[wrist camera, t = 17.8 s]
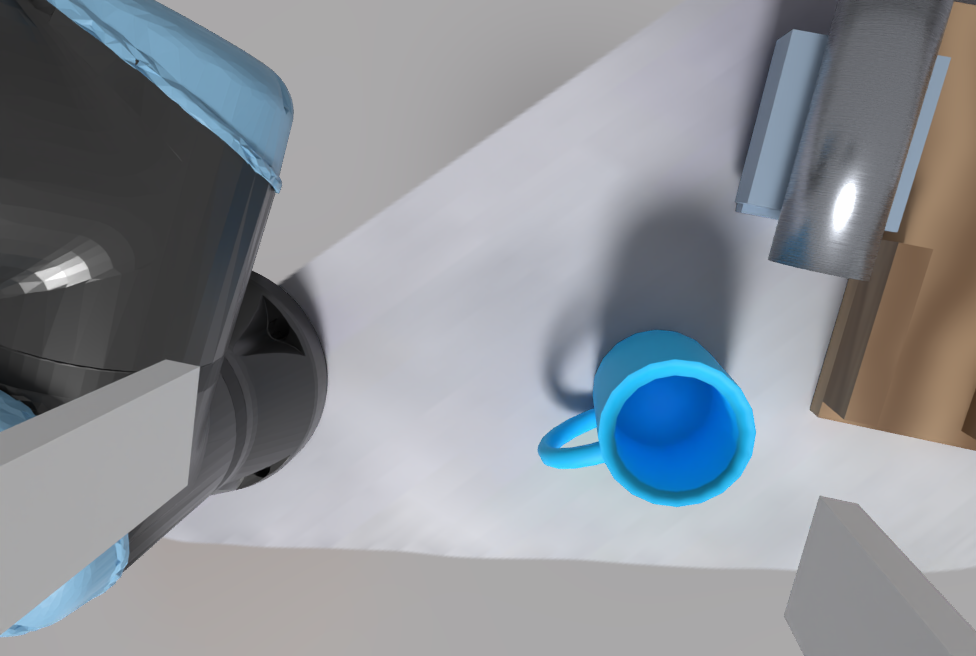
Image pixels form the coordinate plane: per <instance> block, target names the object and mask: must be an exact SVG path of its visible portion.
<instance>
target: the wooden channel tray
mask: <svg viewBox="0 0 976 656" xmlns="http://www.w3.org/2000/svg"><path fill="white" fill-rule="evenodd" d="M938 55H940V56H946V57H951V60H950V63H949V67H948V70H947V73H946V76H945V80H944V83H943V86H942V89H941V93H940V96H939V99H938V102H937V106H936V109H935V112H934V115H933V119H932V122H931V125H930V128H929V132H928V135H927V138H926V141H925V145H924V148H923V151H922V154H921V158H920V161H919V164H918V167H917V171H916V174H915V177H914V180H913V184H912V187H911V190H910V193H909V197H908V200H907V203H906V206H905V210H904V213H903V216H902V219H901V223H900V226H899V229H898V232H890V231H884V234H883V237H882V240H881V244H880V247H879V250H878V253H877V257H876V260H875V263H874V267H873V270H872V273H871V276H870V280H869V281H862V280H856V279H850V278H849V280H848V283H847V286H846V290H845V293H844V297H843V300H842V303H841V307H840V310H839V313H838V317H837V320H836V323H835V327H834V330H833V334H832V337H831V340H830V344H829V347H828V350H827V354H826V357H825V360H824V364H823V367H822V370H821V374H820V377H819V381H818V384H817V387H816V391H815V394H814V397H813V401H812V404H811V407H810V410H811V411H812V412H813V413H814V414H815V415H816V416H817V417H819V418H824V419H829V420H834V421H838V422H843V423H848V424H852V425H857V426H862V427H867V428H871V429H876V430H881V431H885V432H890V433H895V434H899V435H904V436H909V437H914V438H918V439H923V440H928V441H932V442H937V443H942V444H947V445H951V446H956V447H961V448H965V449H970V450H975V451H976V5H971V4H966V3H960V2H954V3H953V6H952V10H951V13H950V16H949V20H948V23H947V26H946V29H945V33H944V36H943V39H942V43H941V46H940V49H939V52H938Z"/></svg>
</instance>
